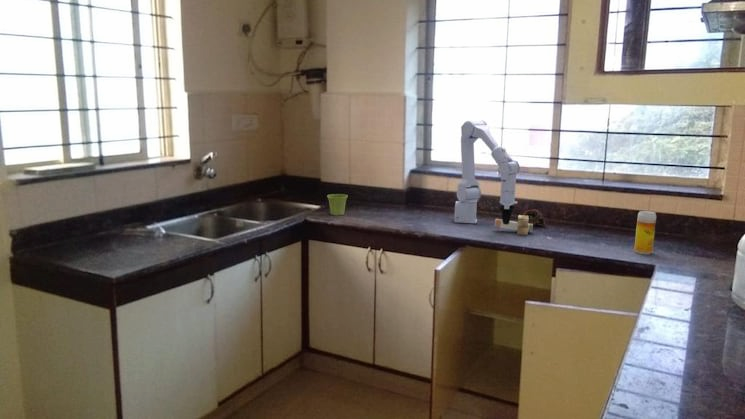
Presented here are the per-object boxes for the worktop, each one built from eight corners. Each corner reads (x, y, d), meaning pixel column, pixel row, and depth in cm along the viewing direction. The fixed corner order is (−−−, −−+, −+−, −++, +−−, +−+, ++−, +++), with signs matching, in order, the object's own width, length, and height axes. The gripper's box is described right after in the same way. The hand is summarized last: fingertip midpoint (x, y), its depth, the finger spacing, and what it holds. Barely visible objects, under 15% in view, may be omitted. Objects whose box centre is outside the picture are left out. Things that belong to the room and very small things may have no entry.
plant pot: (346, 216, 272) (347, 197, 270) (326, 216, 272) (326, 197, 270) (348, 212, 281) (348, 194, 280) (327, 212, 281) (327, 193, 280)
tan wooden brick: (517, 234, 244) (518, 218, 243) (517, 230, 251) (518, 214, 250) (527, 234, 243) (528, 219, 242) (527, 230, 250) (528, 215, 249)
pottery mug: (550, 229, 256) (545, 214, 252) (529, 238, 256) (524, 223, 253) (539, 216, 266) (534, 201, 263) (519, 225, 267) (514, 211, 263)
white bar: (494, 226, 248) (495, 219, 247) (494, 225, 251) (495, 218, 250) (531, 232, 245) (532, 225, 244) (531, 230, 247) (532, 223, 247)
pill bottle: (650, 255, 215) (655, 214, 212) (632, 253, 218) (636, 212, 215) (653, 252, 220) (657, 211, 217) (635, 249, 223) (639, 209, 220)
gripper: (518, 194, 237) (515, 227, 240) (518, 188, 251) (516, 220, 254) (499, 193, 239) (497, 226, 242) (500, 187, 253) (499, 219, 255)
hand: (505, 223), depth 248 cm, fingers closed on white bar, 3 cm apart
